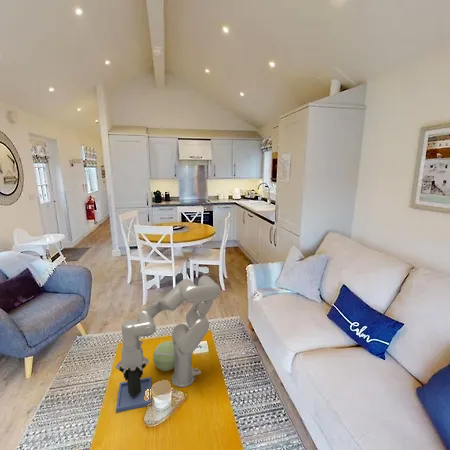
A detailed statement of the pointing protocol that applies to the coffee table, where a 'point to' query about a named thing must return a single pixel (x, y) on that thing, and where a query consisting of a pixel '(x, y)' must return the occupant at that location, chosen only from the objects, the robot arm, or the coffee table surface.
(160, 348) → the decorative sphere
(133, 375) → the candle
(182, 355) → the robot arm
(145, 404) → the slate blue tray
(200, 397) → the coffee table surface
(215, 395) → the coffee table surface
